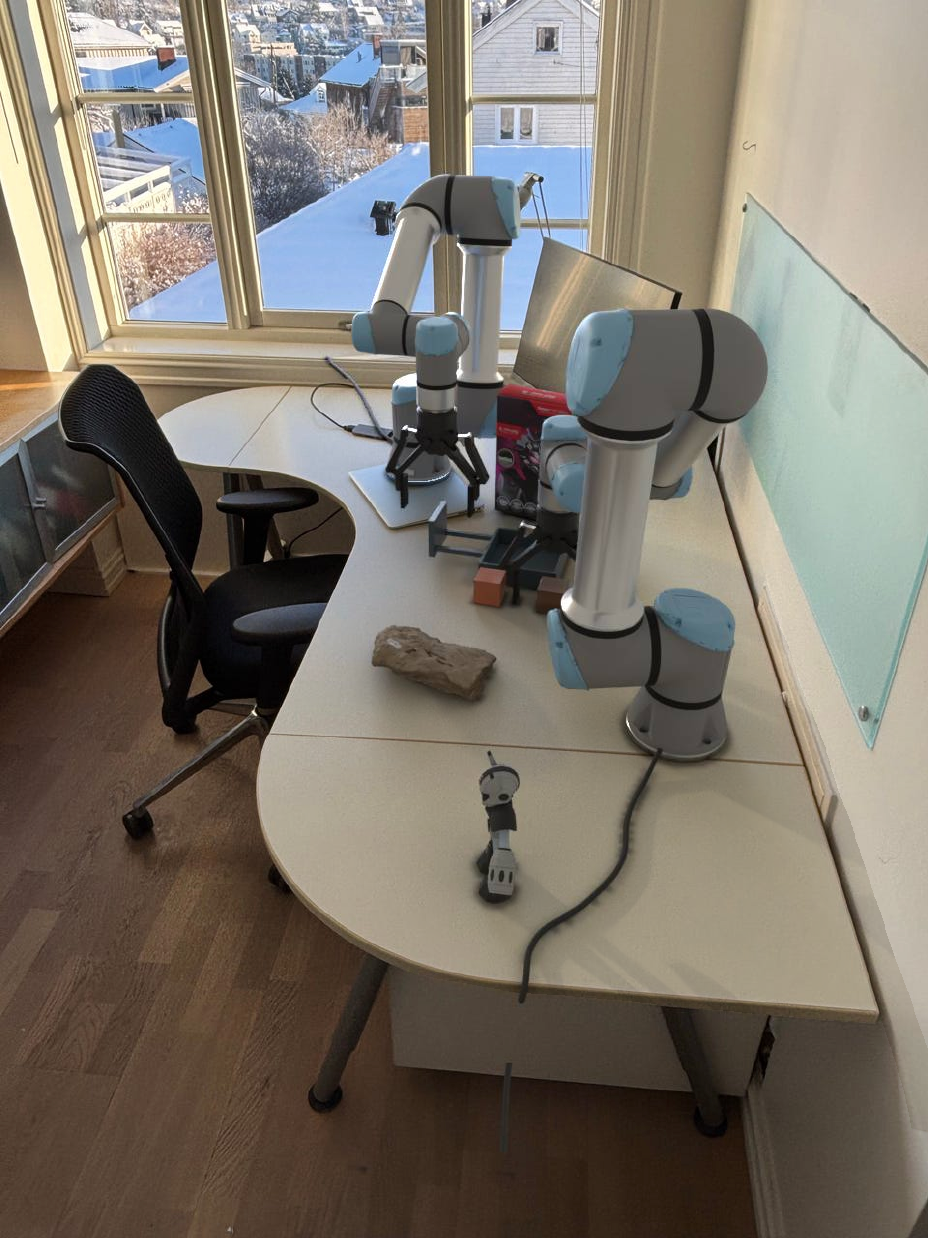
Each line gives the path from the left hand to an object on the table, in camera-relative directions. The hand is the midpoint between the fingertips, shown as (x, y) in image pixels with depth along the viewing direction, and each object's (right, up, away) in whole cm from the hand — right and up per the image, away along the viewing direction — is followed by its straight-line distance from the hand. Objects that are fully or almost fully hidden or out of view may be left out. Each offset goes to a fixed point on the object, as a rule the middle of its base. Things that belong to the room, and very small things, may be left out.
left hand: (437, 510), depth 182 cm
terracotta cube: (+10, -18, -7) cm, 22 cm away
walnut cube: (+22, -19, -10) cm, 31 cm away
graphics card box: (+21, +2, +21) cm, 30 cm away
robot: (+9, -55, -63) cm, 84 cm away
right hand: (+22, -19, -10) cm, 31 cm away
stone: (-1, -31, -27) cm, 41 cm away
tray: (+12, -10, +3) cm, 16 cm away
